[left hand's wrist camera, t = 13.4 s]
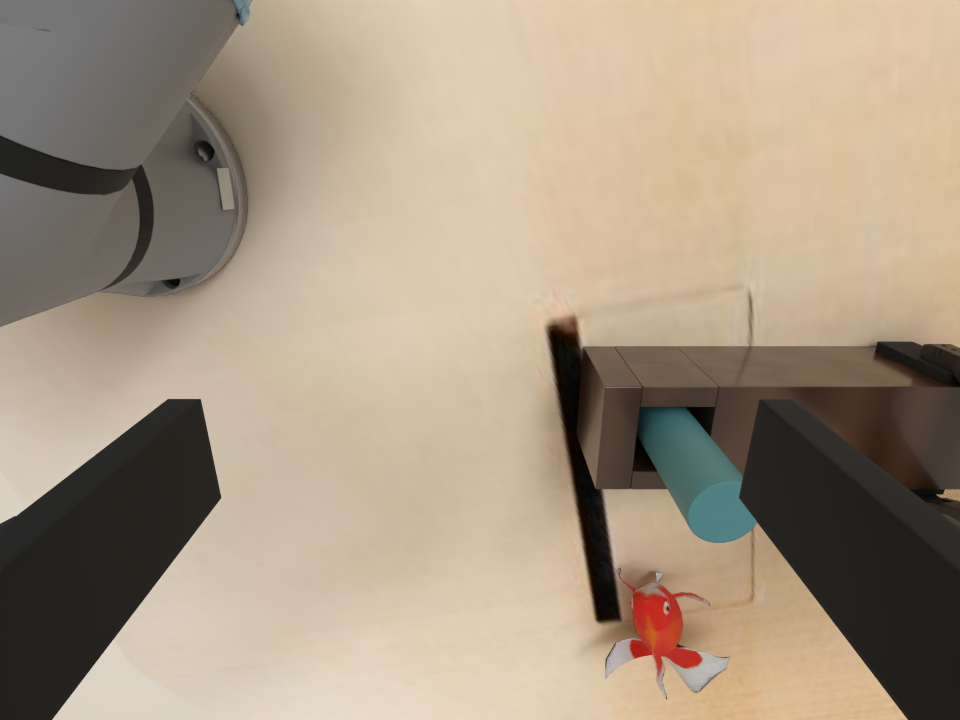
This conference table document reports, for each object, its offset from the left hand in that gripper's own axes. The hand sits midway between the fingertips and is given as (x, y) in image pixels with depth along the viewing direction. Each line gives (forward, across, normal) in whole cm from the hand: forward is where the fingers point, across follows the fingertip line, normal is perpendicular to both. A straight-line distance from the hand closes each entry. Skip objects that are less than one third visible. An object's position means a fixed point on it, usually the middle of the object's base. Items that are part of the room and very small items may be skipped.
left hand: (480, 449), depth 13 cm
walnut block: (+29, +22, -12) cm, 38 cm away
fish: (+29, +17, -34) cm, 48 cm away
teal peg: (+28, +13, -12) cm, 33 cm away
